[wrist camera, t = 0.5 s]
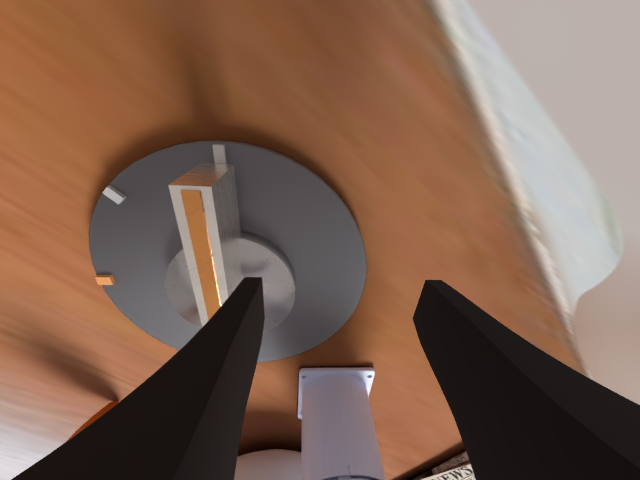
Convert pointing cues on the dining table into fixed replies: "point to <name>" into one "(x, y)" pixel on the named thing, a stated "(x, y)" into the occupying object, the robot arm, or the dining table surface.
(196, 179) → the grey bar on dome
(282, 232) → the dial plate
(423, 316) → the robot arm
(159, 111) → the dining table surface
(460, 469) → the piano keyboard
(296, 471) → the serving bowl
